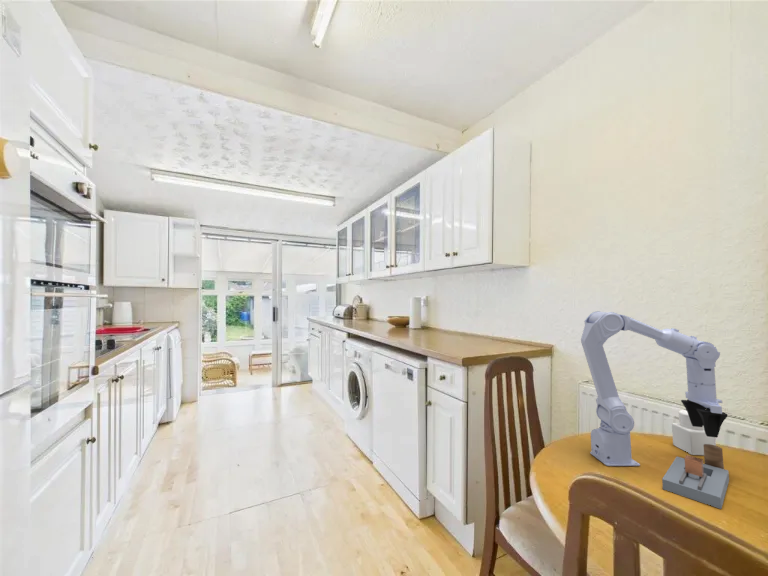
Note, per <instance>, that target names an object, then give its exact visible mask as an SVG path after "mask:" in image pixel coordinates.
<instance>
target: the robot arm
mask: <svg viewBox="0 0 768 576" xmlns="http://www.w3.org/2000/svg"><path fill="white" fill-rule="evenodd" d="M583 322H584V326H583V327H584V328H583V330H582V333H581V334H582V335H581V338H580V343H581V346H582V350H583V352H584V355H585V358H586V363H587V365H588V368H589V371H590V375H591V378H592V380H593V384H594V388H595V391H596V395H597V397H596V400H595V402H596V409H595V413H596V416H597V418H598V419H600V424H599V425H600V426H599V427H598V428H593V429H591V431H590V448H591V450H590V451H589V453H590V454H591V455H592V456H593V457H595V458H596V459H597V460H598V461H599V462H601V463H603V464H604V465H605V466H607V467H629V466H630V467H640V466H641V464H640V463H639V462H638V461H637V460H634V459H633V458H632V441H631V439H632V438H631V431H632V430H634V426H635V420H634V418H633V416H632V415H631V414H630V413H629V412H628V410H627V408H626V405H625V404H624V402H623V401H622V399H621V398H620V396H619V393H618V390H617V387H616V384H615V380H614V377H613V375H612V371H611V367H610V365H609V362H608V358H607V355H606V352H605V349H604V344H605V343H606V342H607V341H608V340H609V339H610V338H611V337H613V336H614V335H617V334H618V333H619V332H621V331H624V332H626V331H630V332H633V333H635V334H639V335H642V336H644V337H648V338H649V339H653V340H655V343H656V344H657V346H658V347H661V348H663V349H667V350H669V351H671V352H673V353H676V354H678V355H682V357H684V358H685V364H686V368H685V369H686V380H687V384H686V385H687V391H684V393H685V394H684V395H685V399H681V400H680V402H681V403H682V405H683V406H684V408H685V410H687V412H688V415H689V418H690V421H691V424H692V426H695V427H703V426H704V431H705V434H706V436H708V437H715V438H718V436H719V434H720V429H721V427H722V424H723V423H724V421H725V420H726V419H727V418H728V413H726V412H723V407H722V405H720V404H723V400H722V399H719V398H717V385H716V371H715V367H716V362H717V361H718V359H720V355H721V352H720V351H718V349H717V347H716V346H715V345H714V344H712V343H711V342H709V341H702V340H698V337H697V336H694V335H690V336H689V335H687V334H685V333H682V332H680V329H677V328H674V327H672V328H667V327H666V328H663V329H660V328H657V327H654V326H652V325H649V324H647V323H645V322H643V321H641V320H637V319H635V318H633V317H632V316H631V317H630V316H628V315H625V314H619V313H618V312H614V311H607V312H606V311H600V310H597V311H593V312H592V313H590V314H589V315H588V316H587V317H586V318H585V319H584V321H583Z"/></svg>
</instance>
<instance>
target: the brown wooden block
mask: <svg viewBox="0 0 768 576" xmlns="http://www.w3.org/2000/svg"><path fill="white" fill-rule="evenodd" d="M703 446H704V455H703V459H704V460H703V461H704V464H706V465H710V466H714V467H717V468H721V469H725V467H724V457H723V454H724V453H723V448H722V447H721V446H717V445H716V446H715V445H710V444H704V445H703Z"/></svg>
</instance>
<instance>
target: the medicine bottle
mask: <svg viewBox="0 0 768 576" xmlns="http://www.w3.org/2000/svg"><path fill="white" fill-rule="evenodd" d="M678 421H679V422H672V423H671V433H672V445H673V446H674V447H676V448H678V449H680V450H682V451H684V452H685V451H686V453H687V452H688V455H690V456H704V446H703V445H704V444H710V445H715V446H717V442H716V437H708V436H706V434H705V431H704V426H703V427H695V426H692V424H691V421H690V418H689V415H688V412H687V410H686V409H680V410H678Z"/></svg>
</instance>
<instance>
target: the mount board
mask: <svg viewBox="0 0 768 576" xmlns="http://www.w3.org/2000/svg"><path fill="white" fill-rule="evenodd" d="M703 467H704V474H703V476H702V477H701V478H700V480H697V479H694V478H690V477H688V473H687V472H685V457H681V456H675V458H674V460H673V461H672V463H671V465H670V466H669V468H668V469H667V471H666V473H665V474H664V476H663V477H662V479H661V480H662V490H664V491H666V490H667V492H669V491H670V493H672V492H673V494H675V495H679V496H682V497H685V498H687V499H689V500H694V501H697V502H699V503H702V504H705V505H707V504H708V505H709V506H710V505H711V507H713V508H717V509H720V510H722V508H723V504H724V502H725V501H724V500H725V498H726V494H727V489H728V487H729V482H730V474H729V470H728V469H725V468H724V469H721V468H717V467H714V466H710V465H706V464H705V463H703Z"/></svg>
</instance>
